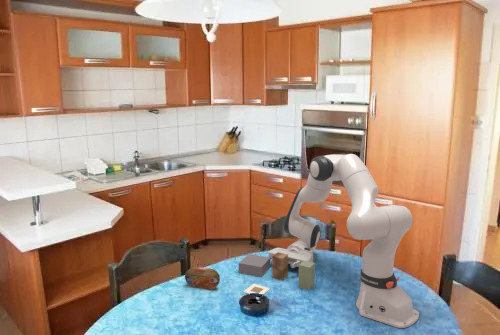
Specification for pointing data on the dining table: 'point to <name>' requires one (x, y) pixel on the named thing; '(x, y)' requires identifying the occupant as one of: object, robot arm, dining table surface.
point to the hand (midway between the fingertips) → (282, 263)
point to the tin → (202, 278)
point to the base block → (254, 265)
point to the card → (256, 289)
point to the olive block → (306, 275)
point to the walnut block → (280, 266)
